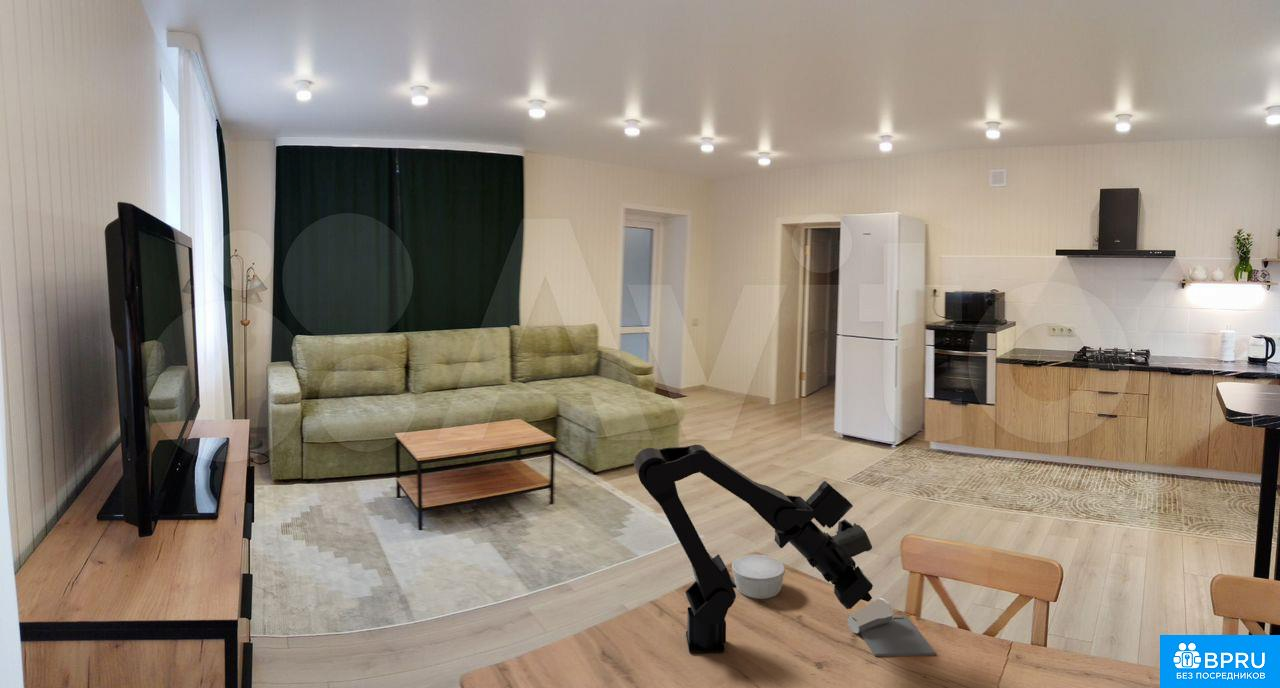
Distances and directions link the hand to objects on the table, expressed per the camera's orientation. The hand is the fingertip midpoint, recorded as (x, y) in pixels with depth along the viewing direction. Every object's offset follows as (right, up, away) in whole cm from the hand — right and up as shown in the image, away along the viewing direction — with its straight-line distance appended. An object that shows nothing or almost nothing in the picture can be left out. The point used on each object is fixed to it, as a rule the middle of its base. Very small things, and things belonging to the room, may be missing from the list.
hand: (869, 599), depth 124 cm
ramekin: (-18, -5, +18) cm, 26 cm away
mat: (+4, -7, 0) cm, 8 cm away
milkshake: (-3, -6, 0) cm, 6 cm away
